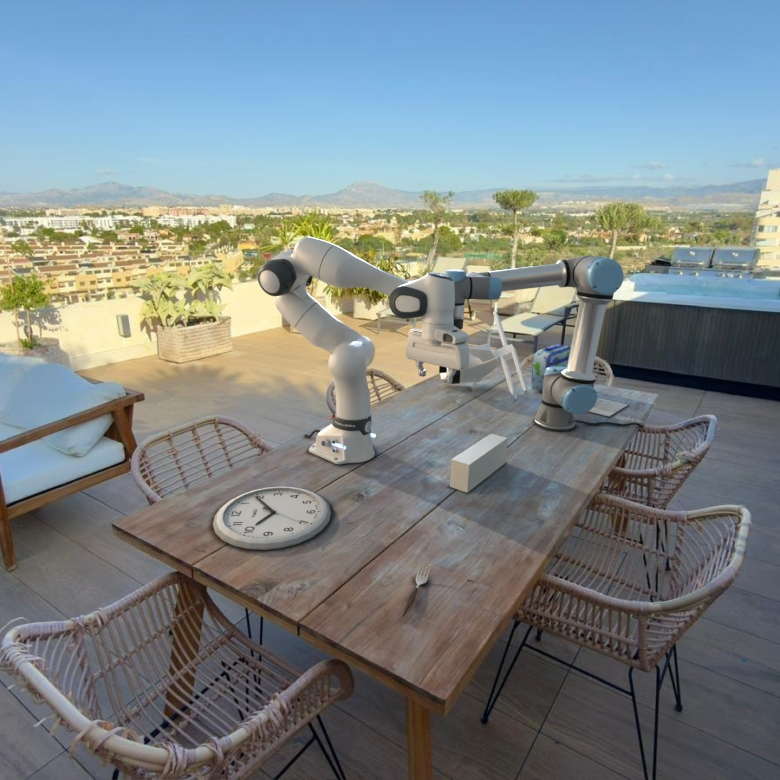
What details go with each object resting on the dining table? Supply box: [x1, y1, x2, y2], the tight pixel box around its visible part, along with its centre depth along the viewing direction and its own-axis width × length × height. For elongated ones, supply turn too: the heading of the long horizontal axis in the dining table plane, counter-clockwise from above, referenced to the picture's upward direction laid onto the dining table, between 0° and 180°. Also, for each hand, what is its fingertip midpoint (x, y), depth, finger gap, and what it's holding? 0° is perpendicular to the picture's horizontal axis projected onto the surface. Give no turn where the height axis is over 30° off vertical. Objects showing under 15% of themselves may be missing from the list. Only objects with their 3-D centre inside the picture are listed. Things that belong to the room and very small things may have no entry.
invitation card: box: [587, 397, 629, 418], centre depth 226 cm, size 21×1×15 cm
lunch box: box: [530, 344, 571, 392], centre depth 247 cm, size 26×11×21 cm, turn 134°
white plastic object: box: [439, 310, 531, 400], centre depth 245 cm, size 37×45×31 cm
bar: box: [449, 433, 508, 494], centre depth 161 cm, size 26×6×9 cm, turn 143°
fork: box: [402, 562, 432, 618], centre depth 108 cm, size 3×16×2 cm, turn 160°
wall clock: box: [212, 486, 332, 551], centre depth 136 cm, size 30×2×30 cm
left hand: (435, 379), depth 151 cm, fingers open, 8 cm apart
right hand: (448, 378), depth 182 cm, fingers open, 13 cm apart
